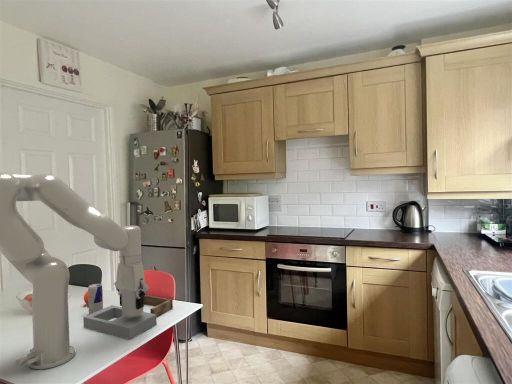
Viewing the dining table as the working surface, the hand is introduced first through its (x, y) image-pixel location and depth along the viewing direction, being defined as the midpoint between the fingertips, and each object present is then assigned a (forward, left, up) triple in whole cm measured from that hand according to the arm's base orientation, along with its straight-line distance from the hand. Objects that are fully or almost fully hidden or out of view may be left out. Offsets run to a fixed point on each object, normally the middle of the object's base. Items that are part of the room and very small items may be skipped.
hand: (131, 306), depth 122 cm
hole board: (0, +6, -9) cm, 11 cm away
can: (0, 0, -4) cm, 4 cm away
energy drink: (+5, +25, -9) cm, 27 cm away
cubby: (+16, +7, -9) cm, 19 cm away
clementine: (+12, +36, -9) cm, 39 cm away
